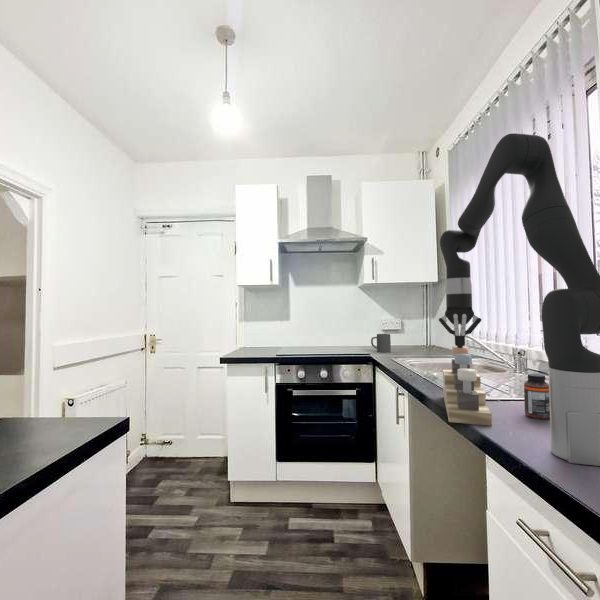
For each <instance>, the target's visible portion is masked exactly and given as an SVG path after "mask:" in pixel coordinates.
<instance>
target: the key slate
mask: <svg viewBox="0 0 600 600" xmlns="http://www.w3.org/2000/svg"><path fill="white" fill-rule="evenodd" d="M454 359H455V364H460V369H461V368H466V369H467V365H470V366H471V365H473V355H472V354H470V353H468V354H455V356H454Z"/></svg>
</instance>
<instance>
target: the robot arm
mask: <svg viewBox="0 0 600 600" xmlns="http://www.w3.org/2000/svg"><path fill="white" fill-rule="evenodd" d="M505 174H506V175H507V174H508V175H509V174H511V175H520V176H523V177H524V178H525V180H526V183H527V184H528V189H529V196H528V198H527V200H526V203H525V205H524V208H523V210H522V213H521V223H522V226H523V230H524V232H525V235H526V239H527V241H528V244H529V246H530V247H531V248H532V250H533V251H534V252H536V254H538V255H539V257H541V258H542V259H543V260H544V261H545V262H547V263H548V264H549V265H550V266H551V267H552V268H553V269H554V270H556V271H557V272H558V274H559V275H560V276H561V277H562V279H563V282H564V283H565V285H566V288H556V289H553V290H550V291H548V293H547V294H546V295H545V296H544V299H543V300H542V304H541V305H542V306H541V324H542V333H543V347H544V352H545V355H546V357H547V360H548V362H547V363H548V384H549V401H550V418H549V426H550V427H549V428H550V430H549V431H550V451H551V453H552V454H553V455H554V456H556V457H558V458H561V459H562V460H565V461H567V463H570V464H577V465H586V466H595V467H596V466H597V467H600V353H597V352H594V351H591V350H589V349H588V348H587V347H586V346H585V345H583V341H582V335H600V273H599V271H598V270H597V269H598V268H596V266H595V265H594V263H593V260H592V259H591V257H590V255H589V251H588V250H587V247H586V245H585V243H584V241H583V239H582V235H581V234H580V231H579V228H578V226H577V223H576V220H575V217H574V215H573V212H572V209H571V208H570V206H569V204H568V202H567V199H566V196H565V195H564V192H563V189H562V186H561V184H560V180H559V177H558V175H557V170H556V167H555V162H554V158H553V153H552V150H551V146H550V145H549V142H548V141H547V140H546V138H545V137H543V136H540V135H536V134H526V133H516V132H515V133H508V134H506V135H504V136H502V138H501V139H500V140H499V141H498V142H497V144H496V145H495V147H494V149H493V151H492V152H491V155H490V158H489V159H488V161H487V164H486V167H485V169H484V171H483V173H482V175H481V177H480V180H479V182H478V185H477V187H476V190H475V191H474V193H473V196H472V197H471V199H470V201H469V203H468V204H467V206H466V207H465V209H464V211H463V212H462V213H461V215H460V216H459V218H458V220H457V226H458V228H459V230H457V229H456V230H455V229H448V230H445V231H444V232H443V233H442V234H441V236H440V239H439V248H440V250H441V251H440V252H441V254H442V257H443V260H444V264H445V267H446V271H445V272H446V282H445V283H446V284H445V297H446V299H445V300H446V301H445V302H446V303H445V305H446V307H445V309H446V310H445V312H444V315H443V316H441V317H439V318H438V322H440V324H441V325H442V326H443V327H444V329H445V330H446V331H447V332H448V333H449V334H451V335H454V345H455V347H458V348H463V347H466V335H471V334H472V333H473V332H474V330H475V329H476V328H477V327H478V326H479V324H480V323H481V322H482V318H481V317H478V316H477V315H475V311H474V310H473V291H472V290H473V285H472V280H471V277H472V276H471V262H470V261H469V260H467V259H463V258H461V257H459V253H461V254H462V253H464V254H465V253H468V252H469V253H470V252H471V251H472V250H474V248H476V246H477V242H478V239H479V236H480V233H481V230H482V228H483V227H484V226H485V225H486V223H487V222H488V221H489V219H490V218H491V216H492V215H493V213H494V210H495V206H496V187H497V184H498V183H499V182H500V180H501V179H502V178H503V176H505ZM448 321H449V322H450V323H451V324H452V325H453V329H452V328H451V327H450V325H448V324H447V322H448ZM470 321H471V322H472V323H471V324H470V326H469V327H468V328H467V329H466V327H467V325H468V324H469V323H470ZM459 325H460V327H459ZM459 329H460V330H459Z"/></svg>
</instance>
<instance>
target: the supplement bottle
mask: <svg viewBox="0 0 600 600" xmlns="http://www.w3.org/2000/svg"><path fill="white" fill-rule="evenodd" d="M523 393H524V394H523V397H524V398H523V399H524V403H523V404H524V415H526V416H527V417H529V418H532V419H538V420H547V419H550V401H549V382H548V383H547V382H546V375H545V374H542V373H533V372H532V373H528V374H527V381H525V382H524V383H523Z"/></svg>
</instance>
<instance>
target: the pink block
mask: <svg viewBox="0 0 600 600" xmlns="http://www.w3.org/2000/svg"><path fill="white" fill-rule="evenodd" d="M451 349H452V350H451V351H452V353H451V355H452V356H453V357H455V354H469V347H467V346H463V348H458V347H457V346H452V347H451Z"/></svg>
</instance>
